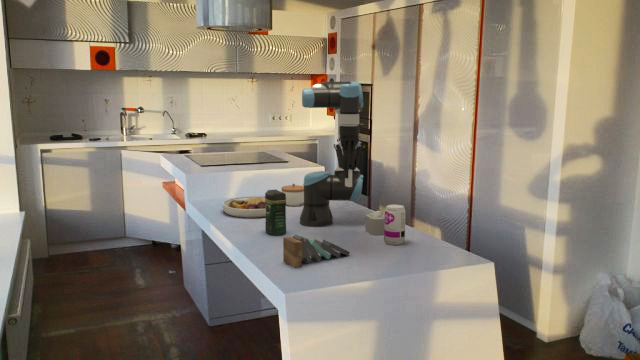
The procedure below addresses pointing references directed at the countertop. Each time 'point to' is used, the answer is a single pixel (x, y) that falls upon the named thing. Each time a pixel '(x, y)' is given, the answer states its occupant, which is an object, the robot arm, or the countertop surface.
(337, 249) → the domino
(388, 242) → the supplement can
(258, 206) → the bowl
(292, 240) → the end block
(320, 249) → the domino
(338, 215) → the countertop surface
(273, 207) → the coffee jar
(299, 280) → the countertop surface
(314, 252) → the domino
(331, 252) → the domino
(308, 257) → the domino
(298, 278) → the countertop surface
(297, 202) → the lidded bowl
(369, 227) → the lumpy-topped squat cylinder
